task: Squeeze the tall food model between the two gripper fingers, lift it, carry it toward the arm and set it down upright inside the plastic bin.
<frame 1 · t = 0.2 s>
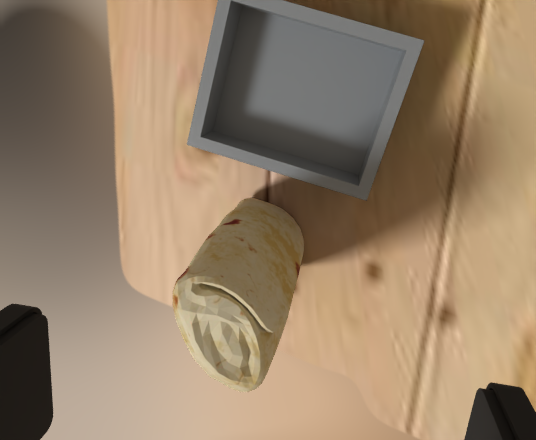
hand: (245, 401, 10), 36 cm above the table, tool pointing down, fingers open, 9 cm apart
bin: (303, 92, 44), on the table
food model: (273, 234, 48), on the table
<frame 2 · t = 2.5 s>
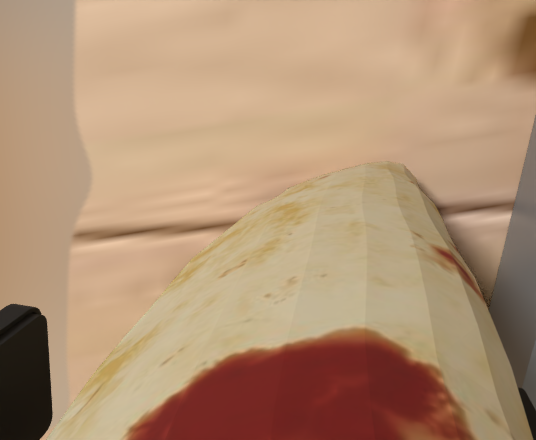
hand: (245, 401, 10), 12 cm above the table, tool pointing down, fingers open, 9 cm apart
food model: (322, 234, 22), on the table, touching gripper
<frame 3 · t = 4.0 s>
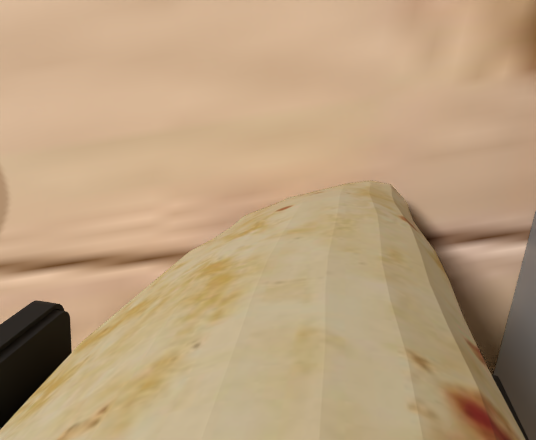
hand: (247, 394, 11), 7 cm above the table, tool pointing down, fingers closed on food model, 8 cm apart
food model: (291, 268, 17), on the table, touching gripper
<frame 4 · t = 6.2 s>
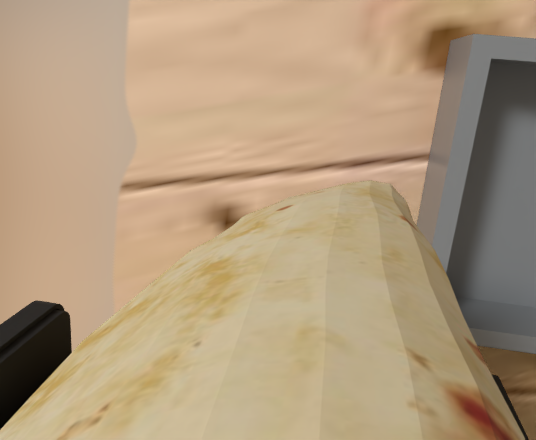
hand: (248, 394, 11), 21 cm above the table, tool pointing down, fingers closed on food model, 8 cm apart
food model: (291, 267, 18), point 14 cm above the table, touching gripper
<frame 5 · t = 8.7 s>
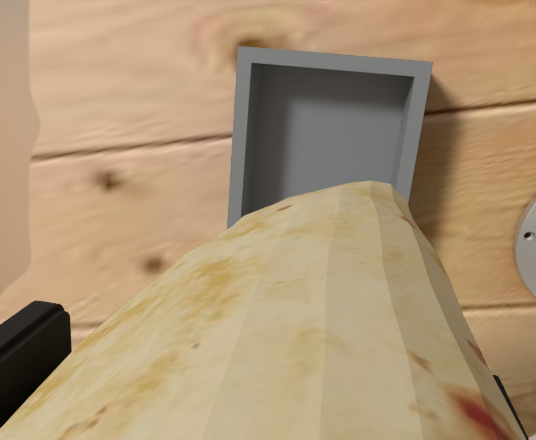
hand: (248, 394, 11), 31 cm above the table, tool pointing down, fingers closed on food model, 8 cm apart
bin: (323, 159, 39), on the table
food model: (291, 268, 17), point 23 cm above the table, touching gripper
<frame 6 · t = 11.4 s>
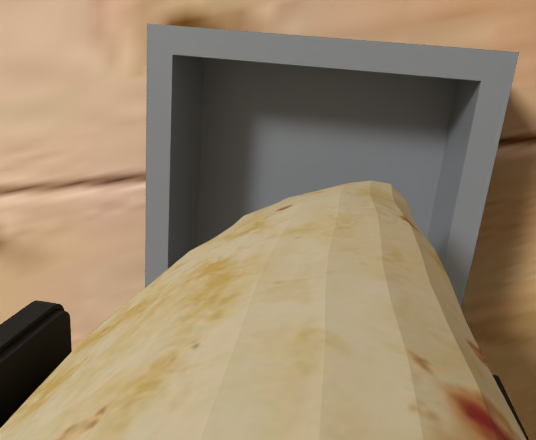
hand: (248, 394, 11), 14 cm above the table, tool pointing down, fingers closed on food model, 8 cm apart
bin: (310, 216, 24), on the table
food model: (291, 268, 17), point 7 cm above the table, touching gripper
when the fingers open (9 cm above the table, at t = 13.6 s): food model drops 1 cm, resting on bin.
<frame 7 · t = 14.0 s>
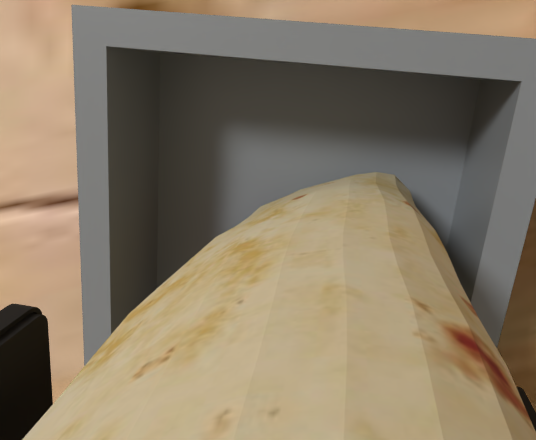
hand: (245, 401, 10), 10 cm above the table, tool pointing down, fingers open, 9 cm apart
bin: (296, 247, 20), on the table
food model: (303, 255, 19), point 1 cm above the table, touching bin
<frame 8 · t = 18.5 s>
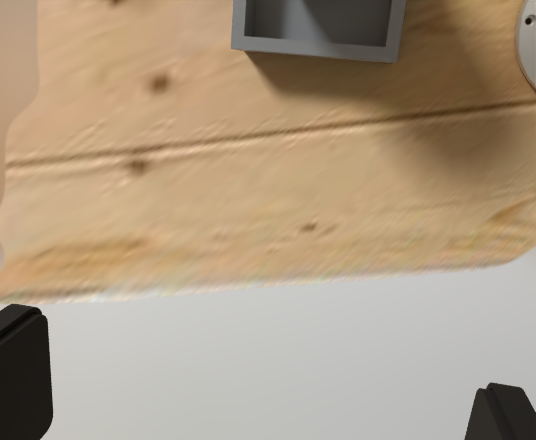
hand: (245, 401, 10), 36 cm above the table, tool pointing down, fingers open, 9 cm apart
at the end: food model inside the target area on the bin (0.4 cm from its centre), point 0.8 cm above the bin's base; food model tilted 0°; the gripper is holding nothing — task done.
